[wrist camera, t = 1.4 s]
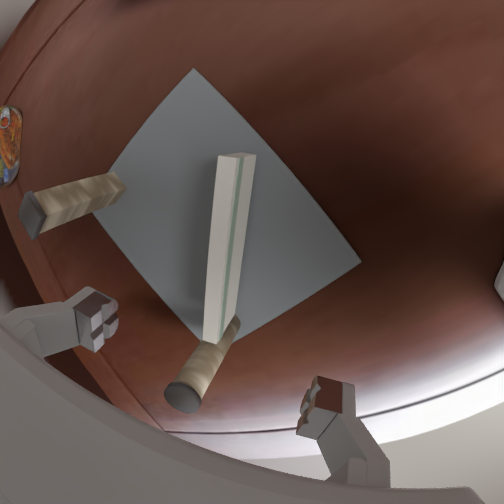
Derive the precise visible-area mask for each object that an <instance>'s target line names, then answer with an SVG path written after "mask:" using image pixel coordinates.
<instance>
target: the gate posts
mask: <svg viewBox="0 0 504 504" xmlns="http://www.w3.org/2000/svg"><path fill="white" fill-rule="evenodd" d="M126 189H127V188H126V186H125V185H124V184H123V183H122V181H121V180H120V179H119V177H118V176H117V175H116V174H115V172H110V173H106V174H102V175H98V176H93V177H89V178H85V179H81V180H78V181H74V182H70V183H66V184H63V185H59V186H56V187H52V188H49V189H45V190H42V191H39V192H35V193H33V192H32V191H29V192H26V193H25V195H24V198H23V201H22V204H21V206H20V209H19V212H18V217H19V219H20V221H21V222H22V224H23V226H24V227H25V229H26V231H27V233H28V234H29V236H30V237H31V239H32V240H34V239H36V238H38V236H39V234H41V233H43V232H45V231H47V230H50V229H52V228H54V227H57V226H59V225H61V224H64V223H66V222H69V221H71V220H74V219H76V218H79V217H81V216H84V215H86V214H89V213H91V212H94V211H96V210H99V209H102V208H104V207H107V206H110V205H112V204H115V203H116V202H117V201H118V199H119V198H120V197H121V195H122V194H123V193H124V191H125V190H126ZM240 326H241V322H240V320H239V318H238V317H237V316H236V315H235V314H234V316H233V318H232V319H231V321H230V323H229V324H228V326H227V328H226V329H225V331H224V333H223V336H222V338H221V339H220V341H218V343H217V344H214V343H210V342H207V341H204V340H203V339H202V340H201V342H200V343H199V345H198V346H197V348H196V349H195V351H194V352H193V353H192V355H191V356H190V358H189V359H188V361H187V362H186V364H185V365H184V367H183V368H182V370H181V371H180V373H179V374H178V376H177V377H176V378H175V380H174V381H173V382H172V383H170V384H169V385H168V386H167V388H166V389H165V391H164V397H165V399H166V400H167V402H168V403H169V404H170V405H171V406H173V407H174V408H175V409H177V410H179V411H182V412H185V413H195V412H196V411H197V410H198V408H199V407H200V405H201V399H202V397H203V395H204V393H205V391H206V390H207V388H208V386H209V384H210V382H211V380H212V379H213V377H214V375H215V373H216V371H217V369H218V368H219V366H220V364H221V362H222V360H223V358H224V357H225V355H226V353H227V351H228V349H229V347H230V345H231V343H232V342H233V340H234V338H235V336H236V334H237V332H238V330H239V328H240Z"/></svg>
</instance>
